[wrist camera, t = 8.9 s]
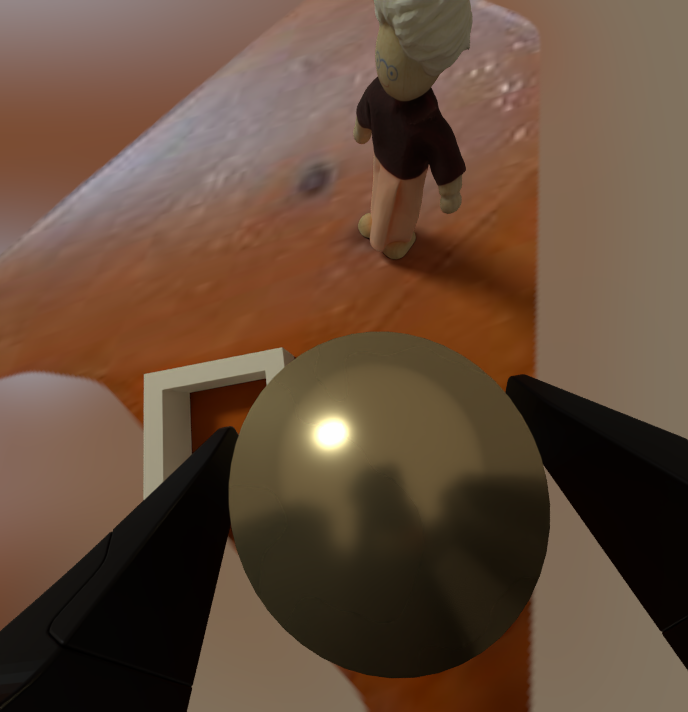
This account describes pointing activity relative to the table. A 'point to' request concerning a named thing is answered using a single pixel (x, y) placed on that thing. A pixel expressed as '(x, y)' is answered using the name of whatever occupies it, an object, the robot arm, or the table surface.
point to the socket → (172, 405)
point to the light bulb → (389, 504)
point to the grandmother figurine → (410, 116)
